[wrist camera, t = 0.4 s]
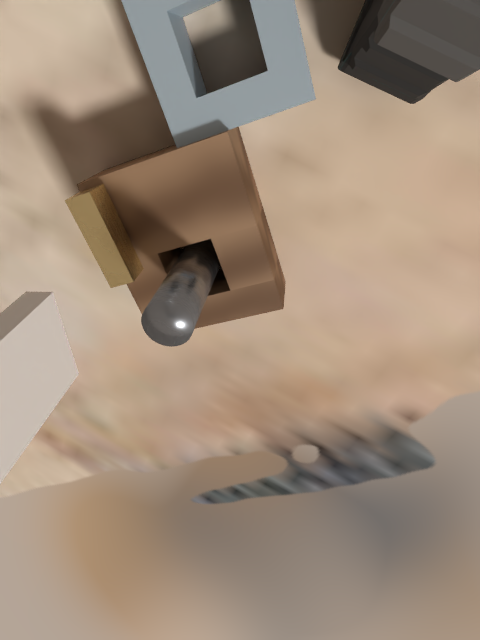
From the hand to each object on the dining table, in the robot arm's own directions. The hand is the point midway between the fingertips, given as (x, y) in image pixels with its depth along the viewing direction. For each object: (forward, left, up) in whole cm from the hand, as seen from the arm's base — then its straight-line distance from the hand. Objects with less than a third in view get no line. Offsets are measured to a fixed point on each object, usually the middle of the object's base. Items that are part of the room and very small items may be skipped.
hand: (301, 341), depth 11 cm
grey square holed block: (-9, -3, -26) cm, 28 cm away
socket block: (+3, -10, -26) cm, 28 cm away
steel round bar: (+5, -10, -26) cm, 28 cm away
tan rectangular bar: (0, -15, -21) cm, 26 cm away
